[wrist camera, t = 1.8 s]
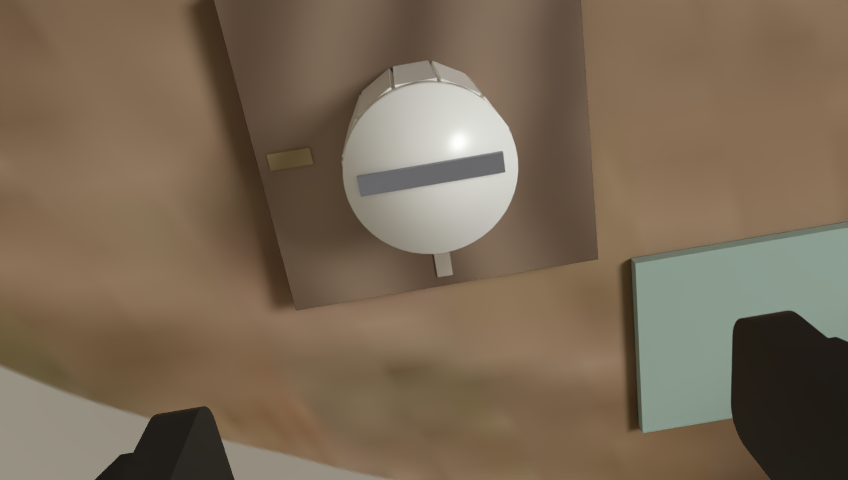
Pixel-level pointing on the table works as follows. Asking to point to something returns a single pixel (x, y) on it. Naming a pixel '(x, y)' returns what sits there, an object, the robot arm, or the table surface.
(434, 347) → the table surface
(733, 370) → the robot arm
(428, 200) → the cap
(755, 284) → the sage mat
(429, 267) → the post base
